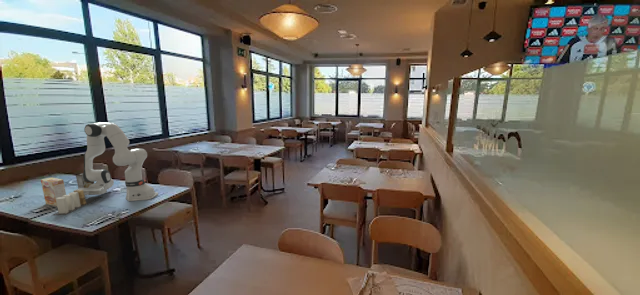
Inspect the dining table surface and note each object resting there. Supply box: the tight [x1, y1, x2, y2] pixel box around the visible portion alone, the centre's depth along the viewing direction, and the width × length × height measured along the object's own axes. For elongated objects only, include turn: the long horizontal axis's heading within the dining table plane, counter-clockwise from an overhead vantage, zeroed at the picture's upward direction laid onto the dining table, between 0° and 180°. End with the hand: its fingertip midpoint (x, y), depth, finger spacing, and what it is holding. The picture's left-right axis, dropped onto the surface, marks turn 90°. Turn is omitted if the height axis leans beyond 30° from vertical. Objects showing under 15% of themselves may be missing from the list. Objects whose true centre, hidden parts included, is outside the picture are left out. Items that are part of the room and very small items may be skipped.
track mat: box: [52, 196, 103, 216], centre depth 199 cm, size 10×34×1 cm, turn 2°
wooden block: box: [73, 189, 86, 205], centre depth 199 cm, size 5×2×11 cm, turn 92°
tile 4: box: [56, 197, 69, 213], centre depth 185 cm, size 5×2×11 cm, turn 92°
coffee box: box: [75, 172, 95, 189], centre depth 227 cm, size 9×6×16 cm
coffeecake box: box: [40, 177, 67, 207], centre depth 201 cm, size 15×7×20 cm, turn 69°
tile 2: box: [68, 191, 81, 207], centre depth 195 cm, size 5×2×11 cm, turn 92°
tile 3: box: [63, 194, 75, 210], centre depth 190 cm, size 5×2×11 cm, turn 92°
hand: (80, 195), depth 200 cm, fingers closed
